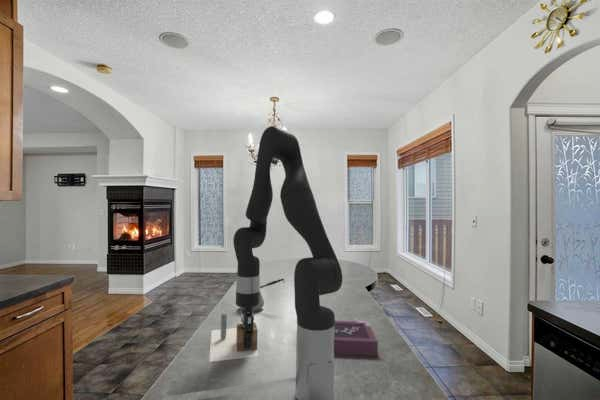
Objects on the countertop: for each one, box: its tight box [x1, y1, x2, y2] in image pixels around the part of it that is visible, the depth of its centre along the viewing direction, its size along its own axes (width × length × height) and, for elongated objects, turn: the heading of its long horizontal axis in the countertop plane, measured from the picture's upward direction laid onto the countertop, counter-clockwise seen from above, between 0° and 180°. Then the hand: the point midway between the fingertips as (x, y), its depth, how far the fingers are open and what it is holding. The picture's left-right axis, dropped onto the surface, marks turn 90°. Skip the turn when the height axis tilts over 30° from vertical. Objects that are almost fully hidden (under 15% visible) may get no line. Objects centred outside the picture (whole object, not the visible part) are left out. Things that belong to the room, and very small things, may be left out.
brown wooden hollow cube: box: [236, 322, 258, 352], centre depth 90 cm, size 6×6×6 cm
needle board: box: [208, 312, 260, 363], centre depth 93 cm, size 22×14×10 cm, turn 16°
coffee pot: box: [239, 278, 286, 313], centre depth 127 cm, size 21×12×15 cm, turn 75°
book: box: [334, 320, 379, 357], centre depth 97 cm, size 25×16×5 cm, turn 87°
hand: (246, 342), depth 90 cm, fingers closed on brown wooden hollow cube, 6 cm apart
